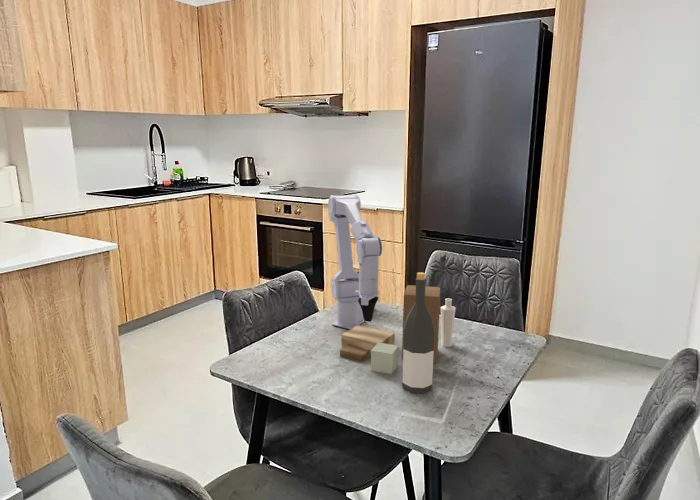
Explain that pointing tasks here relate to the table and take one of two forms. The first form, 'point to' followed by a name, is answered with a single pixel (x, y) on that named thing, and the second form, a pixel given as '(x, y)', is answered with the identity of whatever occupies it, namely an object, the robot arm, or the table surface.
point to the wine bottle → (418, 344)
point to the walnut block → (355, 352)
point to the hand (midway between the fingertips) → (368, 320)
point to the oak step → (367, 337)
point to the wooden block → (432, 305)
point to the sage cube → (384, 358)
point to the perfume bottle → (447, 323)
